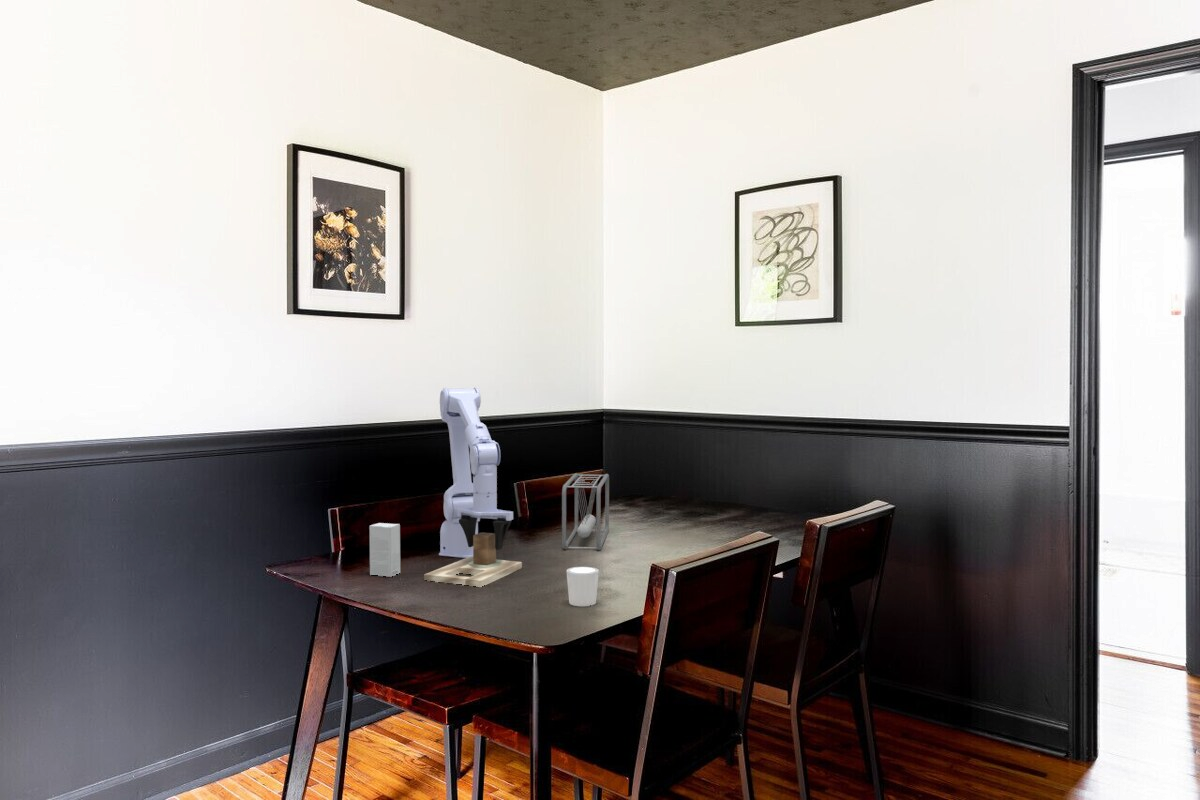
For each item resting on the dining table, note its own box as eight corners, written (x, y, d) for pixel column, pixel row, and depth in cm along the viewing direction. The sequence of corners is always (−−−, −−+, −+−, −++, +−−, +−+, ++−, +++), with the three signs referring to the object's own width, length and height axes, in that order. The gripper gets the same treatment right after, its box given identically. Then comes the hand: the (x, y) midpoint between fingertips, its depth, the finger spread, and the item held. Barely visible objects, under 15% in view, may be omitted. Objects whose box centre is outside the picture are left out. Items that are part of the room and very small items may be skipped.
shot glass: (565, 598, 182) (565, 566, 182) (597, 598, 183) (597, 565, 183) (567, 607, 175) (567, 574, 175) (600, 606, 176) (600, 573, 176)
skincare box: (401, 573, 204) (400, 524, 203) (391, 577, 200) (390, 527, 199) (379, 571, 206) (379, 522, 205) (368, 575, 202) (368, 525, 201)
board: (424, 580, 197) (424, 573, 197) (469, 562, 215) (469, 556, 215) (480, 587, 191) (480, 579, 191) (521, 568, 210) (521, 561, 210)
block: (473, 563, 207) (473, 535, 206) (481, 560, 210) (481, 532, 210) (487, 565, 205) (487, 536, 205) (495, 562, 209) (495, 533, 209)
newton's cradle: (574, 530, 259) (574, 472, 259) (609, 530, 258) (609, 472, 258) (561, 551, 230) (561, 485, 229) (600, 552, 229) (600, 486, 228)
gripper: (450, 492, 206) (450, 548, 207) (503, 496, 201) (503, 553, 201) (465, 488, 213) (465, 542, 213) (517, 492, 207) (517, 547, 208)
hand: (485, 547), depth 208 cm, fingers open, 7 cm apart
